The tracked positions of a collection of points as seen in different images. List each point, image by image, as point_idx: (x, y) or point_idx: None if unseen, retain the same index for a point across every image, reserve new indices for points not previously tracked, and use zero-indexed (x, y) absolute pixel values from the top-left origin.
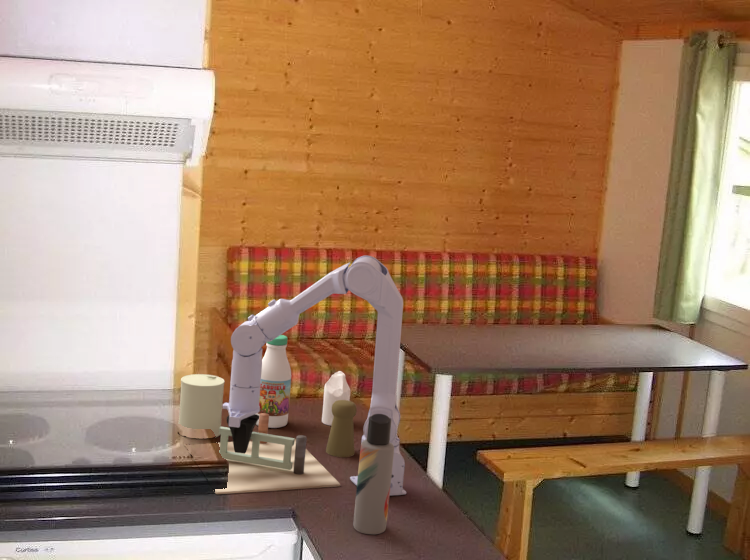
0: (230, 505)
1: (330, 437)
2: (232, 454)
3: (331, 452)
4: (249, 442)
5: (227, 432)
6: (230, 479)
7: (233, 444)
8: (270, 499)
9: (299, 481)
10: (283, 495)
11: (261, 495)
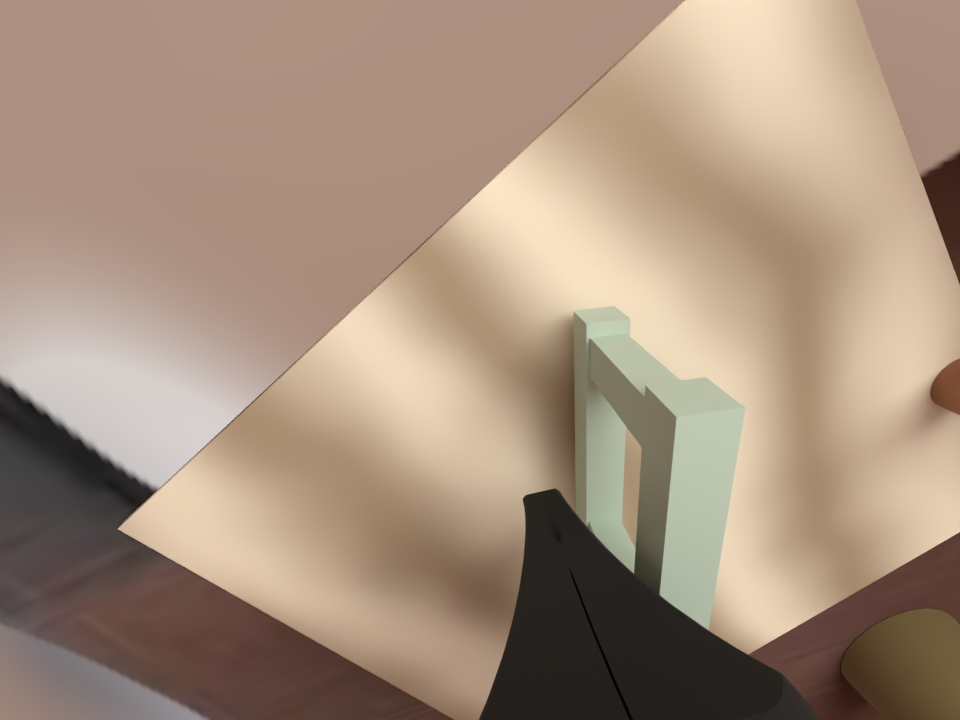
0: (73, 614)
1: (949, 703)
2: (584, 423)
3: (864, 653)
4: (942, 326)
5: (654, 478)
6: (327, 501)
7: (527, 530)
8: (267, 681)
9: None
10: (340, 692)
11: (279, 646)
